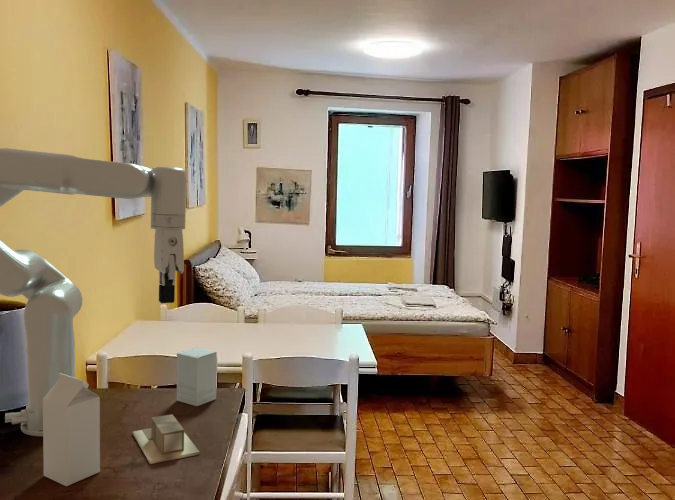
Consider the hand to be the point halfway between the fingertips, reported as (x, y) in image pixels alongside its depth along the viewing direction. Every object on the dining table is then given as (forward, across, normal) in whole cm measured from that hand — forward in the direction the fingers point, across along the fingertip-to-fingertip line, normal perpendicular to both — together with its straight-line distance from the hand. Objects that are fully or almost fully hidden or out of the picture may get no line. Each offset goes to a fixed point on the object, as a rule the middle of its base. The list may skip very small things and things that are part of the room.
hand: (166, 302), depth 138 cm
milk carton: (+29, -19, +21) cm, 41 cm away
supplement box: (+28, +11, -10) cm, 32 cm away
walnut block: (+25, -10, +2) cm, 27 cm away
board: (+28, -12, +2) cm, 31 cm away
